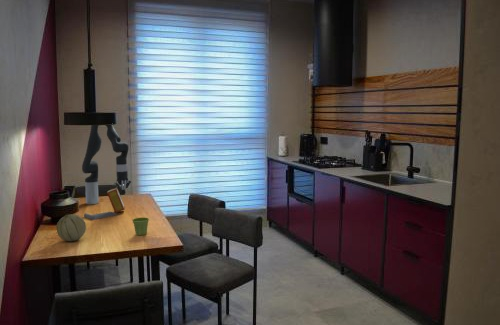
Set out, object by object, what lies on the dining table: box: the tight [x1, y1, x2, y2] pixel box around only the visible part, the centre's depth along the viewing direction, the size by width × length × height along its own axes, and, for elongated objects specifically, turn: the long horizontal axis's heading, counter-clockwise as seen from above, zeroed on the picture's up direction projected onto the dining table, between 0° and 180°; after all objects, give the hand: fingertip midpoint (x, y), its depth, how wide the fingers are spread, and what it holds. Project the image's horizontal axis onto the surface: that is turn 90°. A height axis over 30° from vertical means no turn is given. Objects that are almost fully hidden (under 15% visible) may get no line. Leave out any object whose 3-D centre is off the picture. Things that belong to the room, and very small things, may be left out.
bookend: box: [83, 211, 120, 221], centre depth 283 cm, size 12×19×2 cm, turn 139°
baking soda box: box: [106, 187, 126, 214], centre depth 292 cm, size 10×6×16 cm
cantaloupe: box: [56, 213, 87, 242], centre depth 225 cm, size 15×15×15 cm
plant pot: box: [132, 217, 150, 236], centre depth 237 cm, size 9×9×9 cm
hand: (123, 194), depth 294 cm, fingers closed
